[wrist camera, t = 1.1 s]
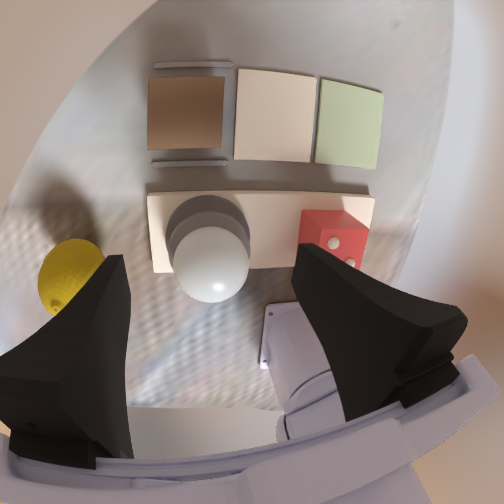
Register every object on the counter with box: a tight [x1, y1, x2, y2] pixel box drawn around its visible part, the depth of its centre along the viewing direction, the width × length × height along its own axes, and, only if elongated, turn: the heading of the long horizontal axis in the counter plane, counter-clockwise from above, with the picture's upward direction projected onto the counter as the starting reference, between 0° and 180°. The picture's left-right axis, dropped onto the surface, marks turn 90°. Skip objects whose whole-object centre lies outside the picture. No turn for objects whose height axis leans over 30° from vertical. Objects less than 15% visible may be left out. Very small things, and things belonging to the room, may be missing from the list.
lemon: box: [38, 238, 105, 316], centre depth 18 cm, size 6×6×8 cm
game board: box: [147, 61, 384, 273], centre depth 21 cm, size 16×19×2 cm
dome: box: [168, 210, 250, 303], centre depth 18 cm, size 6×6×5 cm
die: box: [296, 210, 369, 270], centre depth 22 cm, size 4×4×4 cm
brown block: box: [147, 76, 225, 150], centre depth 16 cm, size 4×4×6 cm
